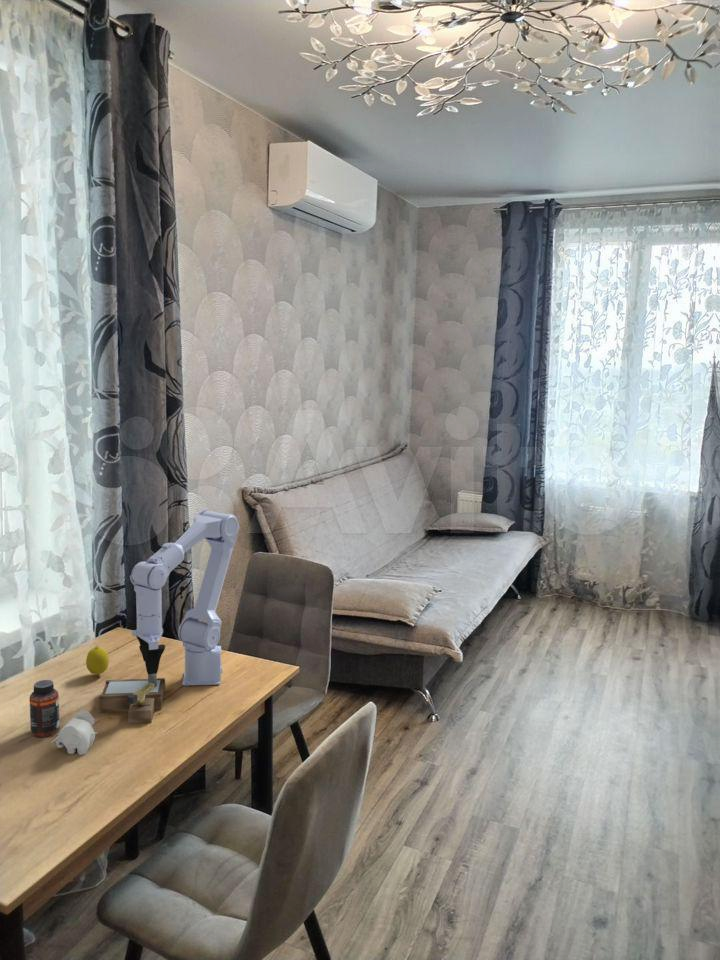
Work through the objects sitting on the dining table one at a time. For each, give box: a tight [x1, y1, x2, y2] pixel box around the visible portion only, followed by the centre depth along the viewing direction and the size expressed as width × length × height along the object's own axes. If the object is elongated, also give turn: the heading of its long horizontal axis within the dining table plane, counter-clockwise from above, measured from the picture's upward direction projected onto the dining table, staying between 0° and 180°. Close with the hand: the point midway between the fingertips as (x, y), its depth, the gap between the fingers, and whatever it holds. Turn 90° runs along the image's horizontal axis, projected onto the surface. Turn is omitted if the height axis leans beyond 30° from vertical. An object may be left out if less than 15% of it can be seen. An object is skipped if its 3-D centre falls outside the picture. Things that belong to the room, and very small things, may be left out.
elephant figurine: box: [49, 710, 98, 756], centre depth 155 cm, size 8×10×7 cm
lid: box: [105, 672, 160, 695], centre depth 177 cm, size 12×6×4 cm, turn 99°
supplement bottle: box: [29, 679, 61, 738], centre depth 162 cm, size 6×6×11 cm
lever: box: [127, 683, 154, 706], centre depth 169 cm, size 8×2×4 cm, turn 160°
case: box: [98, 677, 166, 724], centre depth 175 cm, size 14×16×4 cm
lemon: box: [85, 646, 110, 677], centre depth 190 cm, size 6×6×8 cm
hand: (150, 666), depth 175 cm, fingers open, 7 cm apart
